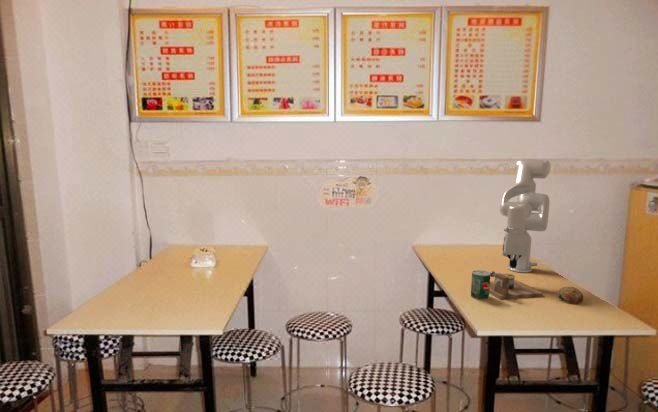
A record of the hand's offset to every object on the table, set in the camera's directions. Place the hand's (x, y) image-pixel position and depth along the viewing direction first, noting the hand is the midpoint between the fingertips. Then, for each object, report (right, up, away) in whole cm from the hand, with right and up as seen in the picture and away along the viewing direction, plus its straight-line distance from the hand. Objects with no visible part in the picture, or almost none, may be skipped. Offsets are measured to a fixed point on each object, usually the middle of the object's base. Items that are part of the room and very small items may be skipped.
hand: (512, 267), depth 229 cm
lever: (-7, -7, -4) cm, 11 cm away
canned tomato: (-22, -11, -18) cm, 31 cm away
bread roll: (+17, -12, -21) cm, 30 cm away
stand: (-6, -10, -9) cm, 15 cm away
